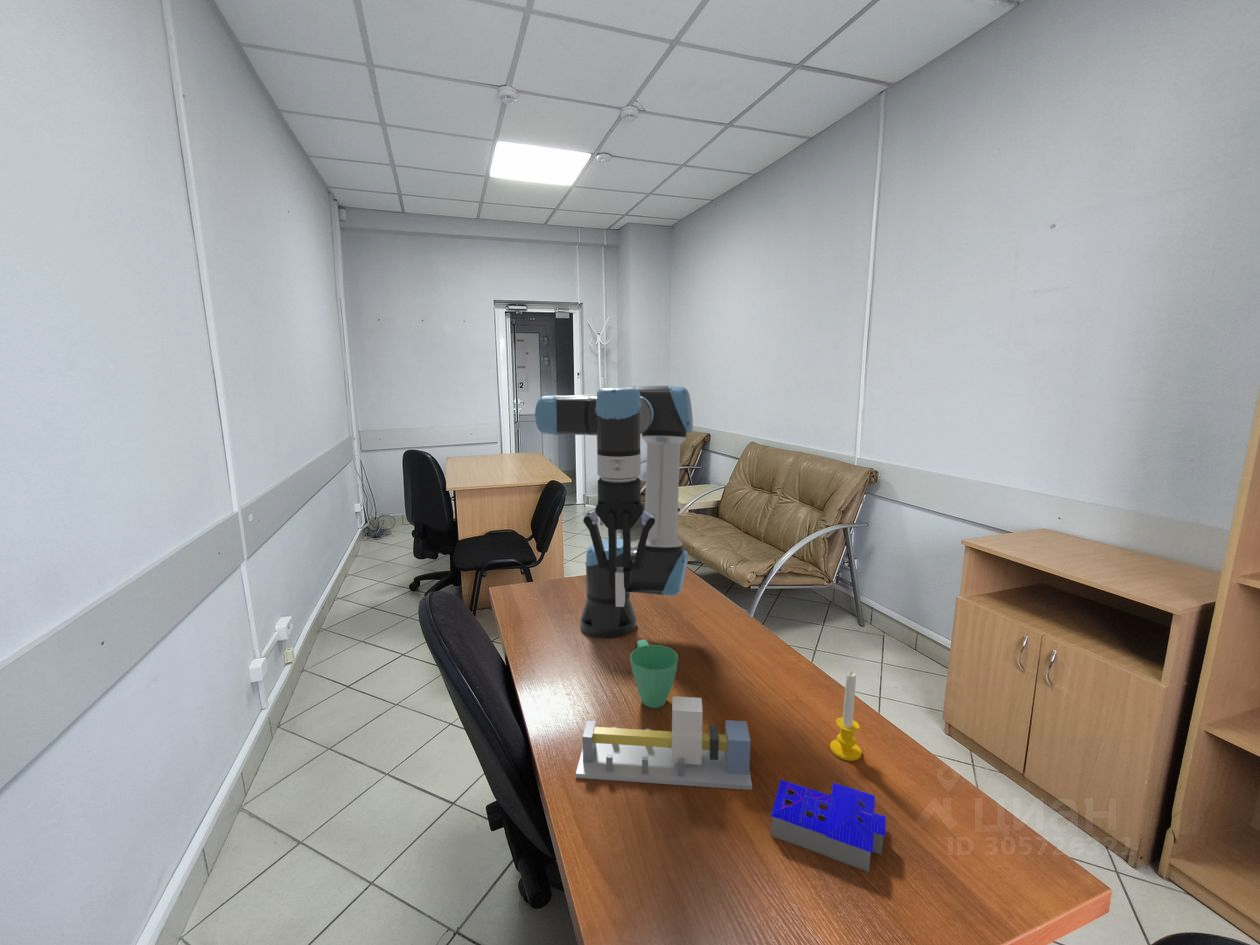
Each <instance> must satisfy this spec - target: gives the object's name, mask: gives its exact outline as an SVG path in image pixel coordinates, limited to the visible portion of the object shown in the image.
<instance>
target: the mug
mask: <svg viewBox="0 0 1260 945" xmlns="http://www.w3.org/2000/svg"><path fill="white" fill-rule="evenodd" d="M629 660H630V665H631V667H630V668H631V671H632V672H631V673H632V676H633V679H634V682H635V687H636V688H637V693H638V695H639V697H640V700H641V702H642V704H643V705H644V706H646V707H647V708H651V709H658V708H659V709H660V708H662V707H663V706H664V705H665V704H666V703H667V700H668V697H669V696H670V694H671V690H672V688H673V684H674V681H675V678H676V673H677V669H678V666H679V665H678V664H679V663H678V662H679V655H678V653H677V652H676V651H675V650H674V649H672V648H671V647H668V646H665V645H661V644H659V645H657V644H650V643H648V641H647V640H646V639H640V640H637V641H636V642H635V645H634V650H633V651H632V652H631V653H630V658H629Z"/></svg>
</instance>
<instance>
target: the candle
mask: <svg viewBox="0 0 1260 945" xmlns="http://www.w3.org/2000/svg"><path fill="white" fill-rule="evenodd" d="M845 677H846V679H845V687H844V688H845V689H844V697H843V698H844V699H843V710H842V712H843V713H842V716H841V717H838V718H836V720H835V724H836V725H837V726H838V727H839V728H840V731H839V732H840V733H838V734H837V736H836V739H833V740H832V741H831V742H830V745H829V747H830V751H831V753H832V754H833V755H834V756H836V757H837V758H839V759H841V760H844V761H847V762H855V761H858V760H860V759H861V757H862V753H863V752H862V749H861V748H860V746H859V745H858V744H857V739H856V738H855V737H854V735H855V733H854V732H857V731H858V730H860V727H861V726H860V724H859V722H858V721H856V720H854V714H855V712H854V711H855V699H856V698H855V696H856V684H857V683H856V682H857V680H856V679H857V674H856V673H855V672H853V671H852V670H851V672H848V673H846V676H845Z"/></svg>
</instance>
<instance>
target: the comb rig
mask: <svg viewBox="0 0 1260 945" xmlns="http://www.w3.org/2000/svg"><path fill="white" fill-rule="evenodd" d="M724 728H725V729H724V730H725V732H724V734H719V729H718V725H717V724H716V725H715V724H708V733H703V732H702V758H701V765H696V764H684V759H678V763H671V759H672V730H671V731H667V730H653V729H651V728H645V729H638V728H637V729H636V728H621V727H620V728H618V726H611V727H605V726H604V727H603V726H601V727H600V726H597V721H596V720H586V723H585V727H584V731H583V734H582V748H581V753H580V757H579V760H578V764H577V767H576V772H575V779H586V780H587V779H588V780H589V779H590V780H601V781H602V780H604V781H615V782H616V781H617V782H618V781H619V782H630V783H631V782H633V783H645V784H646V783H647V784H661V785H673V786H675V785H676V786H690V787H703V788H714V789H715V788H718V789H733V790H744V791H746V790H748V791H752V790H753V781H752V777H751V771H750V761H751V757H750V756H751V737H750V731H749V727H748V722H747V720H745V721H744V720H730V719H729V720H728V719H726V720H725V727H724Z"/></svg>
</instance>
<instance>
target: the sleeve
mask: <svg viewBox="0 0 1260 945" xmlns="http://www.w3.org/2000/svg"><path fill="white" fill-rule="evenodd" d="M702 701H703V700H702V697H693V696H676V695H675V696H672V701H671V702H672V708H671V710H672V711H671V713H672V714H671V717H672V718H671V732H672V759H671V763H678V759H684V764H696V765H701V758H702V733H703V702H702Z"/></svg>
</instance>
